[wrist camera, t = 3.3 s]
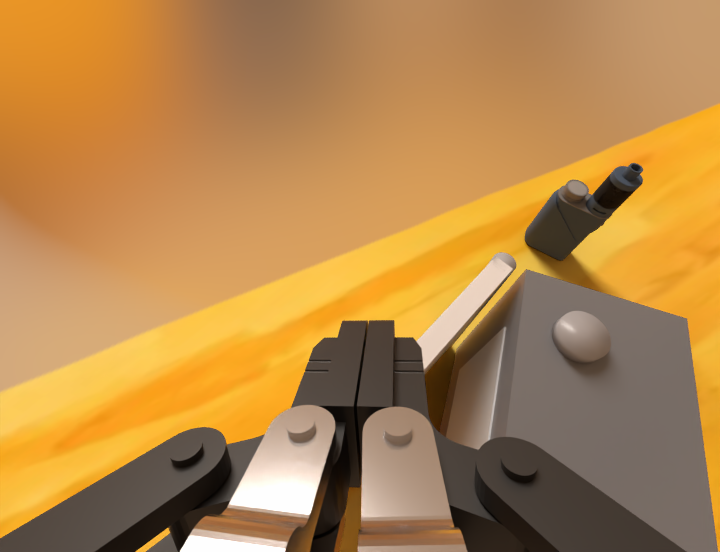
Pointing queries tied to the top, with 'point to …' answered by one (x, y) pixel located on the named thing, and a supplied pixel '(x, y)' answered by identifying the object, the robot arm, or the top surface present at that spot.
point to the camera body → (591, 398)
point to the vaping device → (579, 211)
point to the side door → (464, 309)
